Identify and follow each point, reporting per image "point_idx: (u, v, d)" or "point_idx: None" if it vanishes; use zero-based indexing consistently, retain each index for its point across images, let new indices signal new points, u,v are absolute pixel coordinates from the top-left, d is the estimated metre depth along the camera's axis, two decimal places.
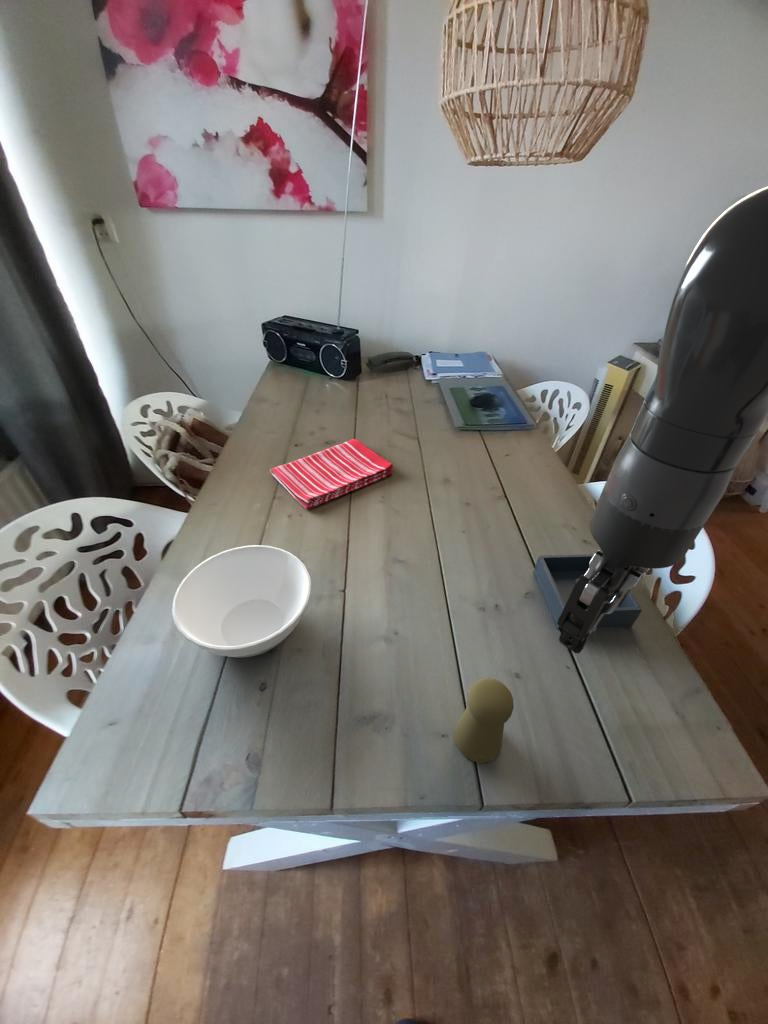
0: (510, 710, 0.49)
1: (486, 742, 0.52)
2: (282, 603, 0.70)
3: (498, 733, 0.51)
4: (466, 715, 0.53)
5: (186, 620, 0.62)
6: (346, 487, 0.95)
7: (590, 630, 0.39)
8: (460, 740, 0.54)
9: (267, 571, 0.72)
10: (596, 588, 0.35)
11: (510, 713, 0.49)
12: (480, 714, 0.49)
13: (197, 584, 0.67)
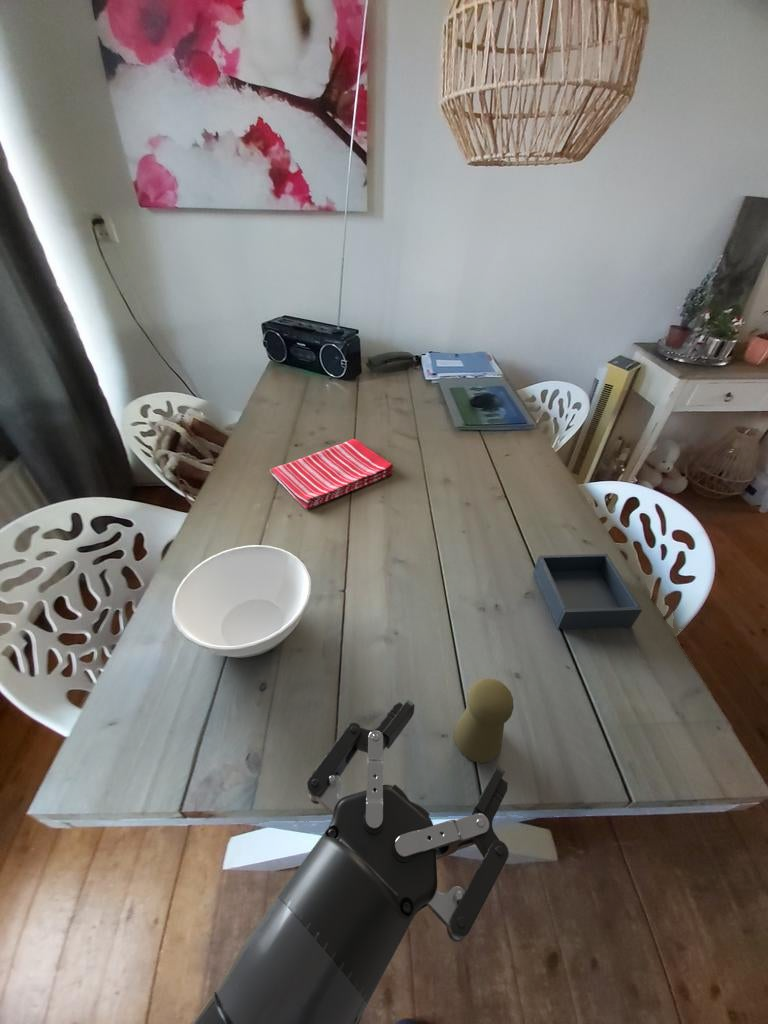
0: (510, 710, 0.49)
1: (486, 742, 0.52)
2: (282, 603, 0.70)
3: (498, 733, 0.51)
4: (466, 715, 0.53)
5: (186, 620, 0.62)
6: (346, 487, 0.95)
7: (486, 831, 0.31)
8: (460, 740, 0.54)
9: (267, 571, 0.72)
10: (457, 937, 0.27)
11: (510, 713, 0.49)
12: (480, 714, 0.49)
13: (197, 584, 0.67)
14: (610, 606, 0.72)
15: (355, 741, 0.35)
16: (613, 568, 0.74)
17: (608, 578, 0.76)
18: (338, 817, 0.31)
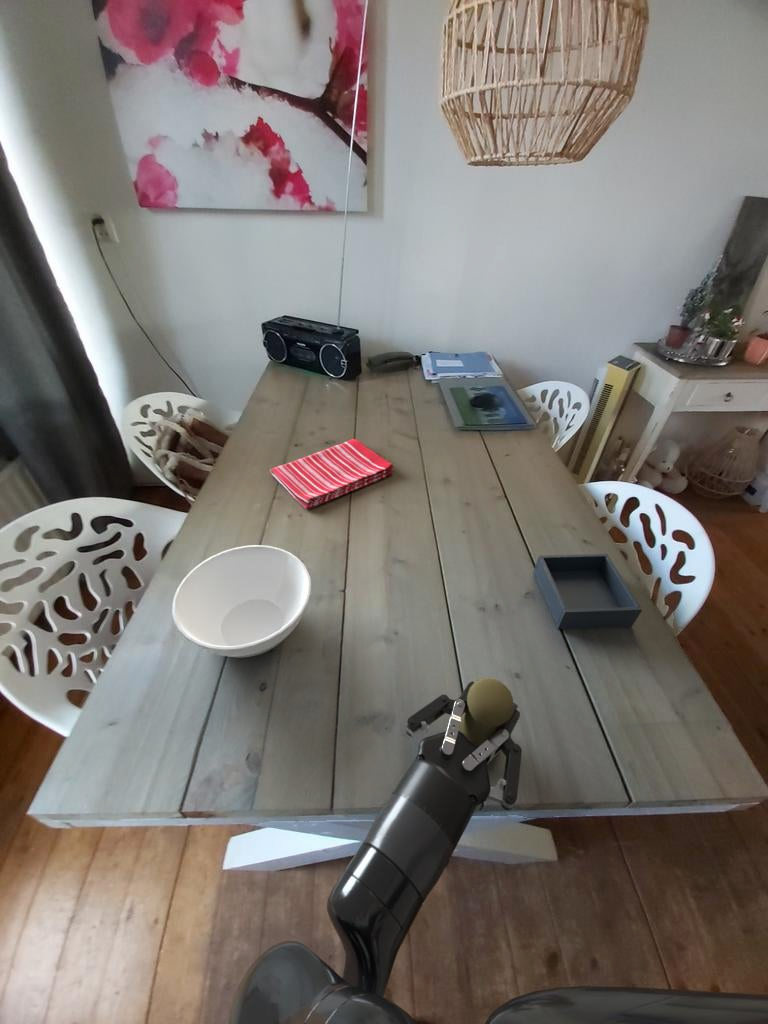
0: (510, 710, 0.49)
1: None
2: (282, 603, 0.70)
3: None
4: (466, 715, 0.53)
5: (186, 620, 0.62)
6: (346, 487, 0.95)
7: (507, 738, 0.49)
8: None
9: (267, 571, 0.72)
10: (511, 805, 0.45)
11: (510, 713, 0.49)
12: (480, 714, 0.49)
13: (197, 584, 0.67)
14: (610, 606, 0.72)
15: (443, 706, 0.52)
16: (613, 568, 0.74)
17: (608, 578, 0.76)
18: (423, 749, 0.48)
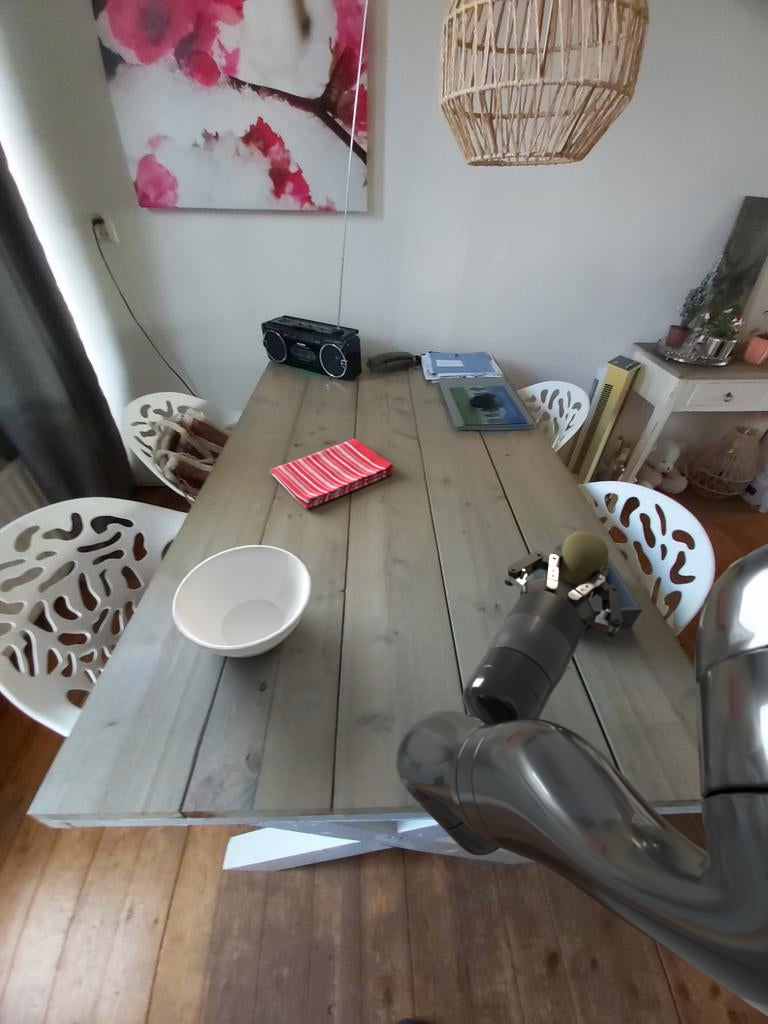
0: (607, 554, 0.52)
1: None
2: (282, 603, 0.70)
3: None
4: (559, 570, 0.56)
5: (186, 620, 0.62)
6: (346, 487, 0.95)
7: (604, 581, 0.52)
8: None
9: (267, 571, 0.72)
10: (616, 628, 0.48)
11: (606, 557, 0.52)
12: (579, 557, 0.52)
13: (197, 584, 0.67)
14: None
15: (539, 559, 0.55)
16: (613, 568, 0.74)
17: (608, 578, 0.76)
18: (527, 588, 0.51)
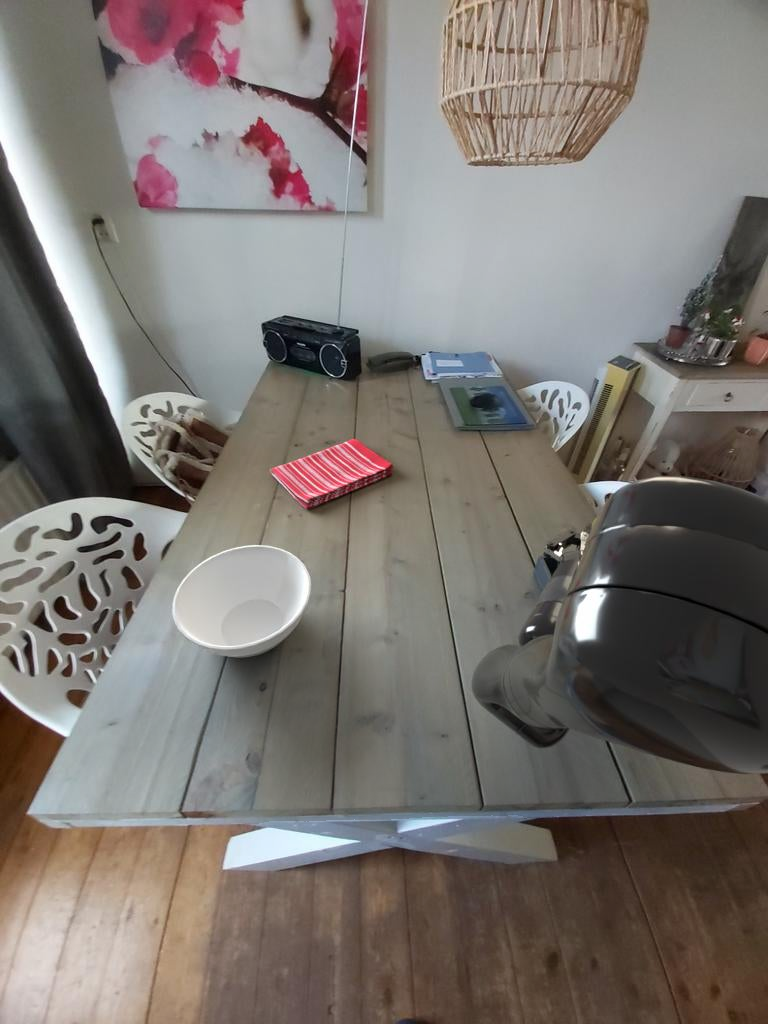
0: None
1: None
2: (282, 603, 0.70)
3: None
4: None
5: (186, 620, 0.62)
6: (346, 487, 0.95)
7: None
8: None
9: (267, 571, 0.72)
10: None
11: None
12: None
13: (197, 584, 0.67)
14: None
15: (572, 535, 0.66)
16: None
17: None
18: (564, 558, 0.62)
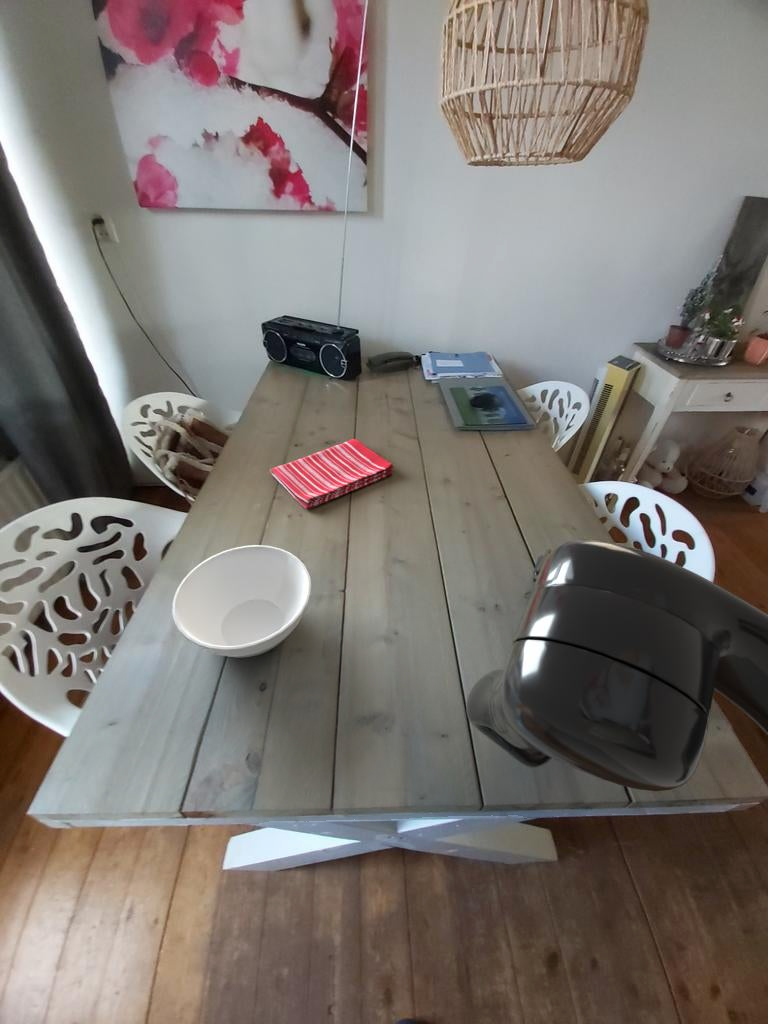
0: None
1: None
2: (282, 603, 0.70)
3: None
4: None
5: (186, 620, 0.62)
6: (346, 487, 0.95)
7: None
8: None
9: (267, 571, 0.72)
10: None
11: None
12: None
13: (197, 584, 0.67)
14: None
15: None
16: None
17: None
18: None
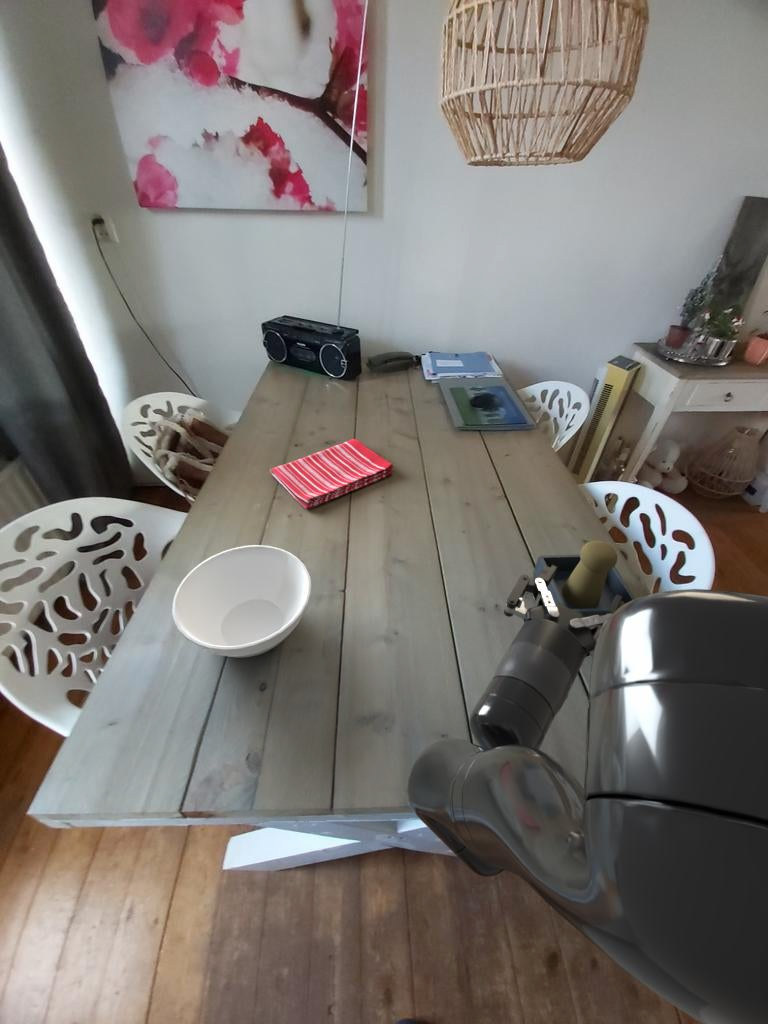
0: (616, 558, 0.66)
1: (594, 588, 0.69)
2: (282, 603, 0.70)
3: (603, 581, 0.69)
4: (577, 571, 0.70)
5: (186, 620, 0.62)
6: (346, 487, 0.95)
7: None
8: (570, 593, 0.72)
9: (267, 571, 0.72)
10: None
11: (616, 561, 0.66)
12: (594, 561, 0.66)
13: (197, 584, 0.67)
14: None
15: (527, 583, 0.58)
16: (613, 568, 0.74)
17: (608, 578, 0.76)
18: (531, 615, 0.54)
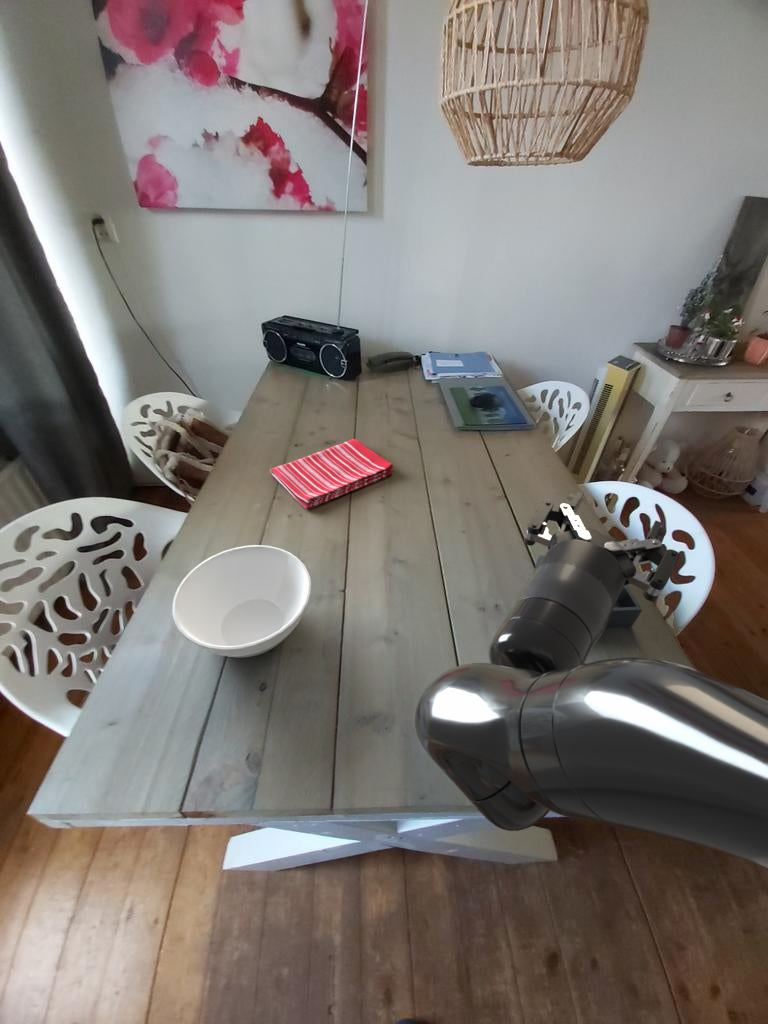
0: None
1: None
2: (282, 603, 0.70)
3: None
4: None
5: (186, 620, 0.62)
6: (346, 487, 0.95)
7: (660, 546, 0.45)
8: None
9: (267, 571, 0.72)
10: (657, 590, 0.42)
11: None
12: None
13: (197, 584, 0.67)
14: None
15: (551, 508, 0.50)
16: None
17: None
18: (557, 540, 0.46)
